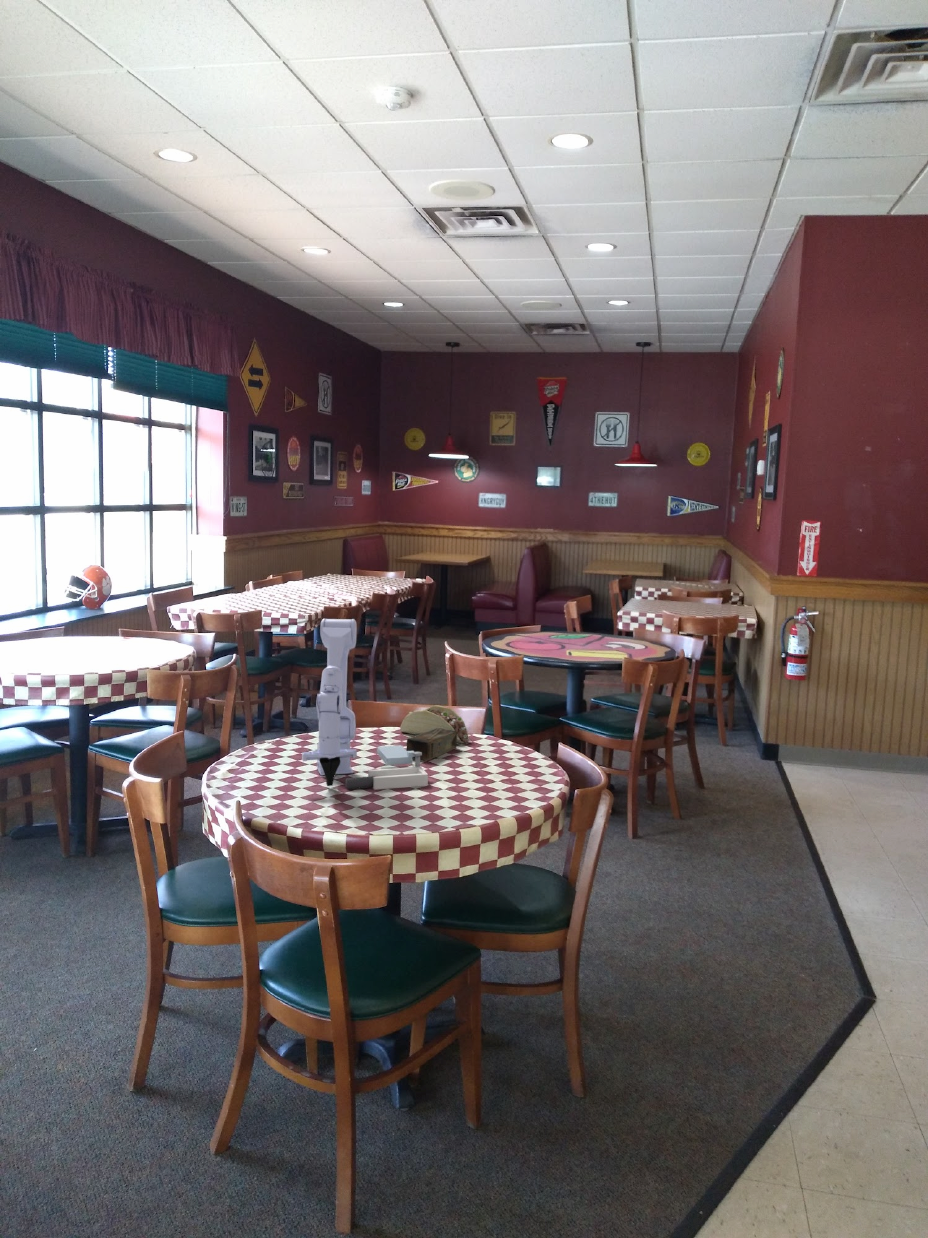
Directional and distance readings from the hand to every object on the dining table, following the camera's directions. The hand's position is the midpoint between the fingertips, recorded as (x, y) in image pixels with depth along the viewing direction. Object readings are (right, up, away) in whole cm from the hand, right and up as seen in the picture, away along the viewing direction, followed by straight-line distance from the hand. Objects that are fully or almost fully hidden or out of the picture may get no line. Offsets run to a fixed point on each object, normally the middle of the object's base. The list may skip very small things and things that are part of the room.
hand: (329, 785), depth 248 cm
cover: (+18, +4, +17) cm, 25 cm away
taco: (+27, +5, +58) cm, 64 cm away
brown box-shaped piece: (+26, +3, +38) cm, 47 cm away
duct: (+18, -1, +6) cm, 19 cm away
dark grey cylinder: (+8, -1, +3) cm, 9 cm away
